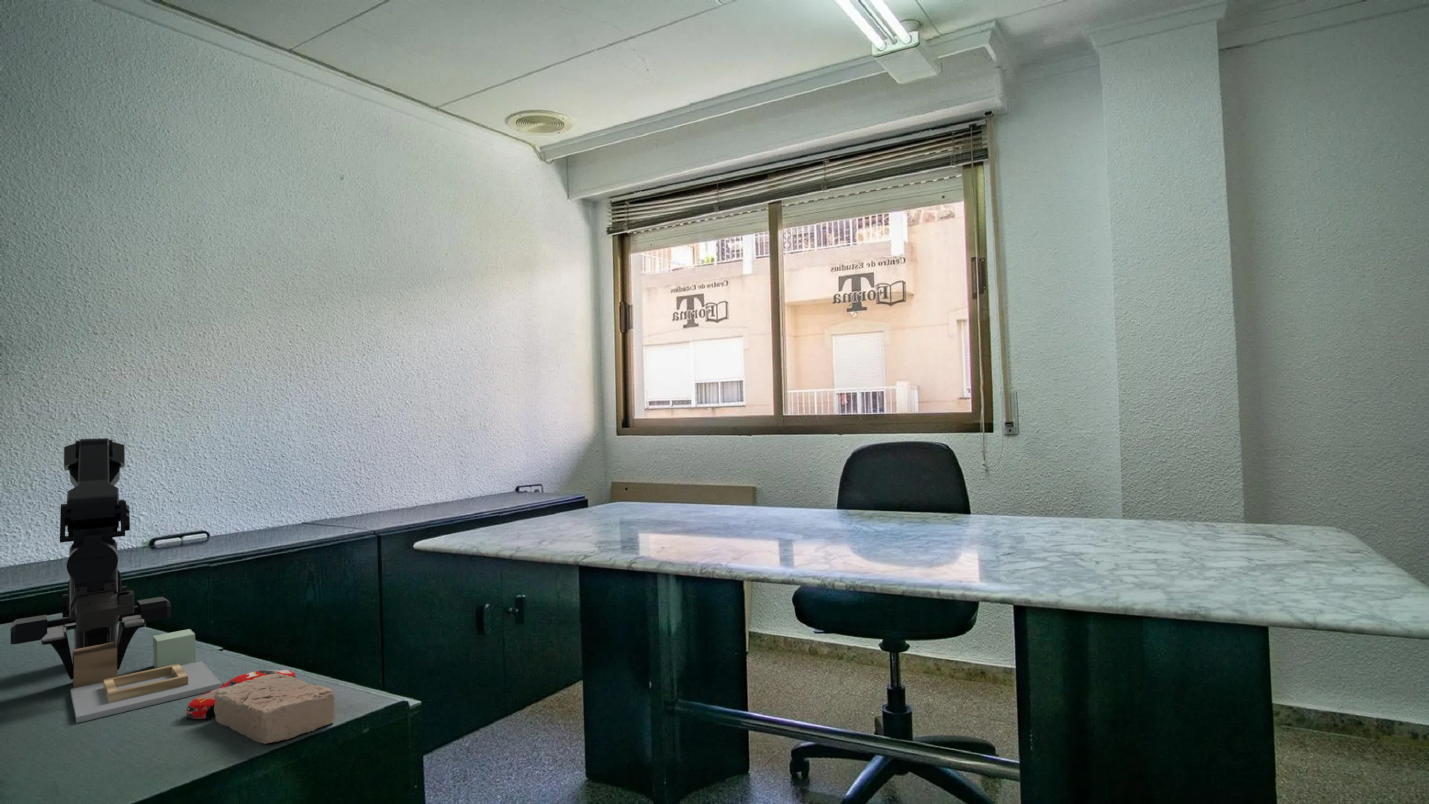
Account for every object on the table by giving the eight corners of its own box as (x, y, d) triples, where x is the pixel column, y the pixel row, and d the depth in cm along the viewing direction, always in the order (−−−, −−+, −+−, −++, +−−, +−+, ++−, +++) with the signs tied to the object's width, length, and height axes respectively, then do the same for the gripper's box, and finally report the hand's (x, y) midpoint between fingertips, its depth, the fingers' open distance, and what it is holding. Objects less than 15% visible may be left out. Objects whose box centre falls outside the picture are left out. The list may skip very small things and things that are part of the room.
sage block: (153, 666, 118) (152, 635, 118) (190, 658, 121) (189, 628, 121) (157, 672, 114) (157, 641, 114) (195, 664, 118) (195, 634, 118)
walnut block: (72, 681, 111) (72, 649, 111) (114, 673, 114) (114, 641, 114) (74, 689, 107) (74, 656, 107) (117, 680, 111) (116, 647, 111)
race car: (193, 727, 92) (192, 696, 92) (180, 718, 95) (179, 688, 95) (303, 694, 102) (302, 666, 102) (287, 686, 105) (287, 659, 105)
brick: (210, 722, 93) (210, 686, 93) (279, 701, 100) (278, 667, 100) (267, 752, 83) (266, 712, 83) (338, 726, 90) (338, 688, 90)
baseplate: (70, 694, 105) (70, 680, 105) (201, 665, 116) (201, 653, 116) (76, 723, 94) (76, 707, 94) (221, 688, 105) (221, 674, 105)
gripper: (9, 592, 99) (10, 705, 99) (175, 569, 112) (176, 669, 112) (10, 582, 107) (11, 686, 106) (165, 562, 120) (166, 655, 120)
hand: (94, 674), depth 111 cm, fingers closed on walnut block, 5 cm apart
